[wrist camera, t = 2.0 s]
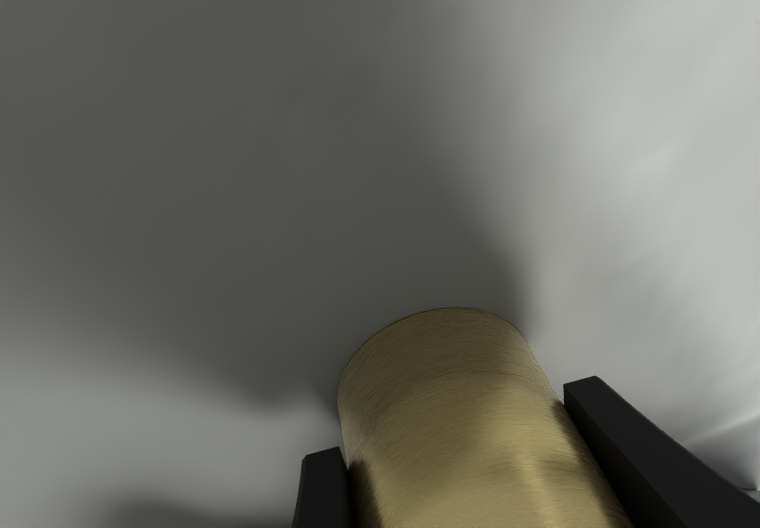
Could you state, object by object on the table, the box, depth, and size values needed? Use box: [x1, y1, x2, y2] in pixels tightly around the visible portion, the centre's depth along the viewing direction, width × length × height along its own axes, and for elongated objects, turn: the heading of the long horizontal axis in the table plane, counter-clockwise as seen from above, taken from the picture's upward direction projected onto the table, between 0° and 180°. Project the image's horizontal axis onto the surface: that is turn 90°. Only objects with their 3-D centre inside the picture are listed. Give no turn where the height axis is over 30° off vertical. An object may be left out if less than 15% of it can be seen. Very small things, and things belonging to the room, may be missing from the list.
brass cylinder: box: [338, 308, 635, 528], centre depth 10 cm, size 4×4×6 cm
